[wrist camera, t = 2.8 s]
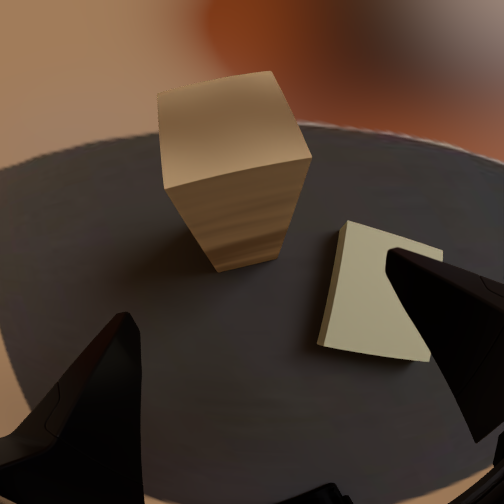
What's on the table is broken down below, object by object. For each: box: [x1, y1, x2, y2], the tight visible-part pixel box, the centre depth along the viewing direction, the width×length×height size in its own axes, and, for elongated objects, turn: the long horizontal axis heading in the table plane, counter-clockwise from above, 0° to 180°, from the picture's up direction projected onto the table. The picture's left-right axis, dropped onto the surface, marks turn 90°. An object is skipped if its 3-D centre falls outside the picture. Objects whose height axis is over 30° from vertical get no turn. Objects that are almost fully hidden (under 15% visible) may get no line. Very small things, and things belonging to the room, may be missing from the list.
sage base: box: [317, 221, 443, 362], centre depth 19 cm, size 9×9×2 cm
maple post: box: [157, 71, 312, 273], centre depth 15 cm, size 4×4×13 cm
